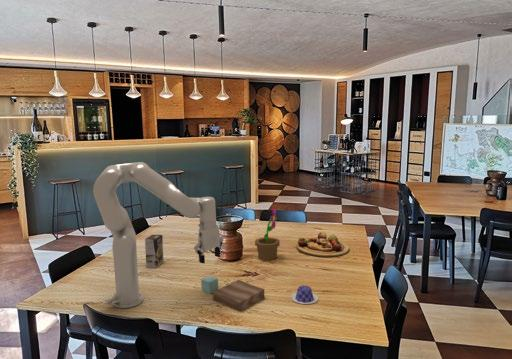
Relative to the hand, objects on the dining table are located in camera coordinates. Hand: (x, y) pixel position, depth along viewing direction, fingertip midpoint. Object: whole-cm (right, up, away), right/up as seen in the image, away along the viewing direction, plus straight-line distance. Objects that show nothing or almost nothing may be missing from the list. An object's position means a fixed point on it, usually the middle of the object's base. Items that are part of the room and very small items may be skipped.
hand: (209, 259), depth 175 cm
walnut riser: (+14, -16, -7) cm, 22 cm away
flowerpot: (+28, -8, +42) cm, 51 cm away
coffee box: (-34, -10, +34) cm, 50 cm away
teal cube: (0, -15, +2) cm, 15 cm away
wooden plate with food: (+62, -6, +57) cm, 85 cm away
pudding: (+43, -16, -7) cm, 46 cm away
